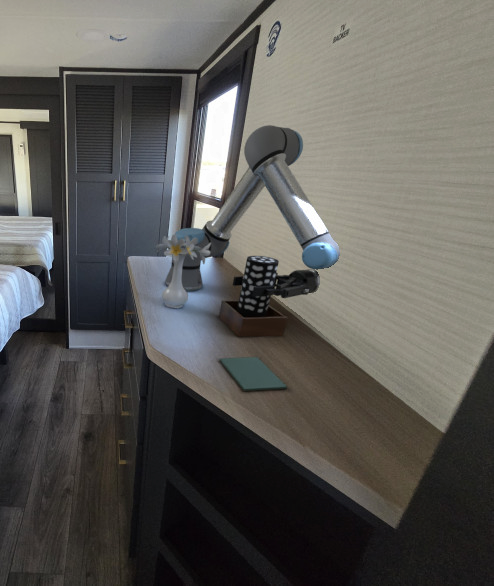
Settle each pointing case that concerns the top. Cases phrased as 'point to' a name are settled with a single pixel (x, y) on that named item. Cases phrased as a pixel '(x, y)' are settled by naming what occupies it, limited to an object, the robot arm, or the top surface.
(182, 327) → the top surface
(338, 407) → the top surface
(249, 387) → the mat
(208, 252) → the flower vase
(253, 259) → the white-spotted black cylinder
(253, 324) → the crate
